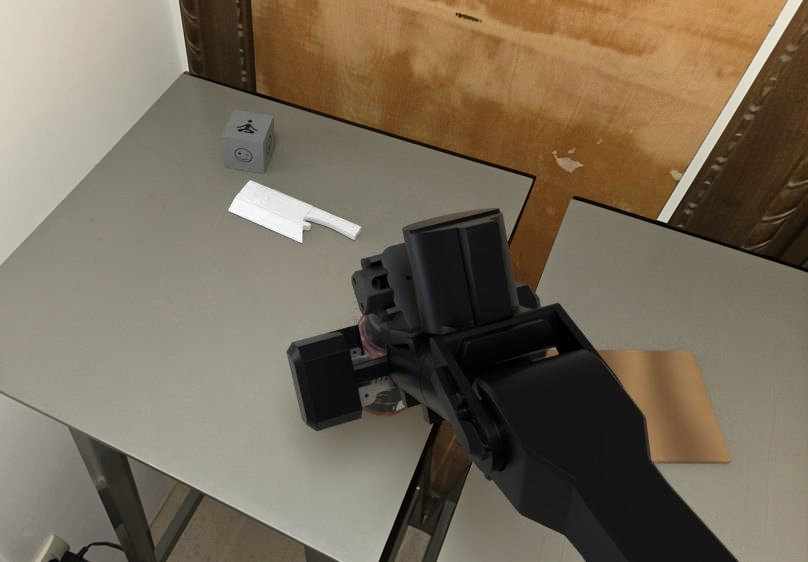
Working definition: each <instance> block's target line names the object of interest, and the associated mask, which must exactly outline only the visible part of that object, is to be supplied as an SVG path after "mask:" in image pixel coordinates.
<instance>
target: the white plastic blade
mask: <svg viewBox="0 0 808 562" xmlns="http://www.w3.org/2000/svg"><path fill="white" fill-rule="evenodd" d="M227 211H228V212H229V213H231V214H233V215H237V216H239V217H241V218H243V219H246V220H248V221H250V222H253V223H255V224H257V225H259V226H262V227H264V228H266V229H268V230H270V231H273V232H275V233H278V234H280V235H282V236H284V237H286V238H289V239H291V240H294V241H296V242H298V243H301V244H303V232H304V231H307V232H308V231H311V230H312V225H311V223H315V224H317V225H321V226H324V227H326V228H330V229H332V230H333V231H336V232H338V233H340V234H341V235H343V236H345V237H347V238H348V239H351V240H353V241H356V239H357V238H358V237H359V235H360V234H361V233H362V226H361V225H359V224H356V223H354V222H351V221H349V220H346V219H344V218H341V217H340V216H336V215H334V214H332V213H330V212H328V211H325V210H323V209H321V208H319V207H316V206H314V205H311V204H309V203H307V202H305V201H302V200H301V199H298V198H295V197H293V196H291V195H288V194H286V193H283V192H282V191H280V190H276V189H274V188H270V187H268V186H266V185H263V184H261V183H259V182H256V181H253V180H251V179H249V181H248V182H247V183H246V184H245V185H243V187H242V189H240V191H239V192H238V193H237V194H236V196H235V197H234V199H233V201H232V203H231V205H230V206H229V208H228V210H227ZM308 221H309V222H308Z"/></svg>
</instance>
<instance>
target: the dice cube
mask: <svg viewBox="0 0 808 562" xmlns="http://www.w3.org/2000/svg"><path fill="white" fill-rule="evenodd" d="M274 117H275V116H274V115H272V114H271V115H270V114H264V113H257V112H252V111H245V110H241V109H240V110H238V109H233V110H232V113H231V115H230V117H229V120H228V122H227V124H226V126H225V129H224V131H223V133H222V135H221V140H222V151H223V159H224V167H225V168H227V169H232V170H239V171H243V172H245V171H246V172H250V173H256V174H262V175H265V174H266V171H267V168H268V166H269V163H270V160H271V158H272V155H273V152H274V150H275V146H276V145H275V120H274V119H275V118H274Z"/></svg>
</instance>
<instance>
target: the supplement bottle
mask: <svg viewBox="0 0 808 562" xmlns="http://www.w3.org/2000/svg"><path fill="white" fill-rule="evenodd" d="M385 323H386V322H384V323H380V322H379V321H378V318H377V316H376V315H375V314H369V315H365V316H364V315H363V314H362V315H361V316H360V318H359V319H358V320H357V322H356V324H355V325H358V326H359V331H360V335H361V340H362V345H363V349H364V353H365V354H367V355H368V358H369V360H371V359H375V358H378V357H382V356H385V355H387V351H386V350H385V345H384V343H383V340H382V336H381V331H380V326H379V325H381V324H385ZM389 376H390V375H389ZM384 378H385V379H386V376H384ZM390 378H391V376H390ZM379 379H380V381H381V377H380V378H379ZM373 380H374V381H375V382H376V379H373ZM370 382H371V381H370ZM374 401H375V402H374V403H372V404H370V405H367V406H364V407H362V408H363V411H365V412H366V413H369V414H372V415H375V416H379V417H390V416H391V417H392V416H395V415H398V414H400V413H403V411H406V409H408V408H407V407H406V406H404V405H403V403H402V398H401V394H400V389H399V387H396V388H393V389H389V390H386V391H382V392H379V393H377V395H376V398H375V400H374Z"/></svg>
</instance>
